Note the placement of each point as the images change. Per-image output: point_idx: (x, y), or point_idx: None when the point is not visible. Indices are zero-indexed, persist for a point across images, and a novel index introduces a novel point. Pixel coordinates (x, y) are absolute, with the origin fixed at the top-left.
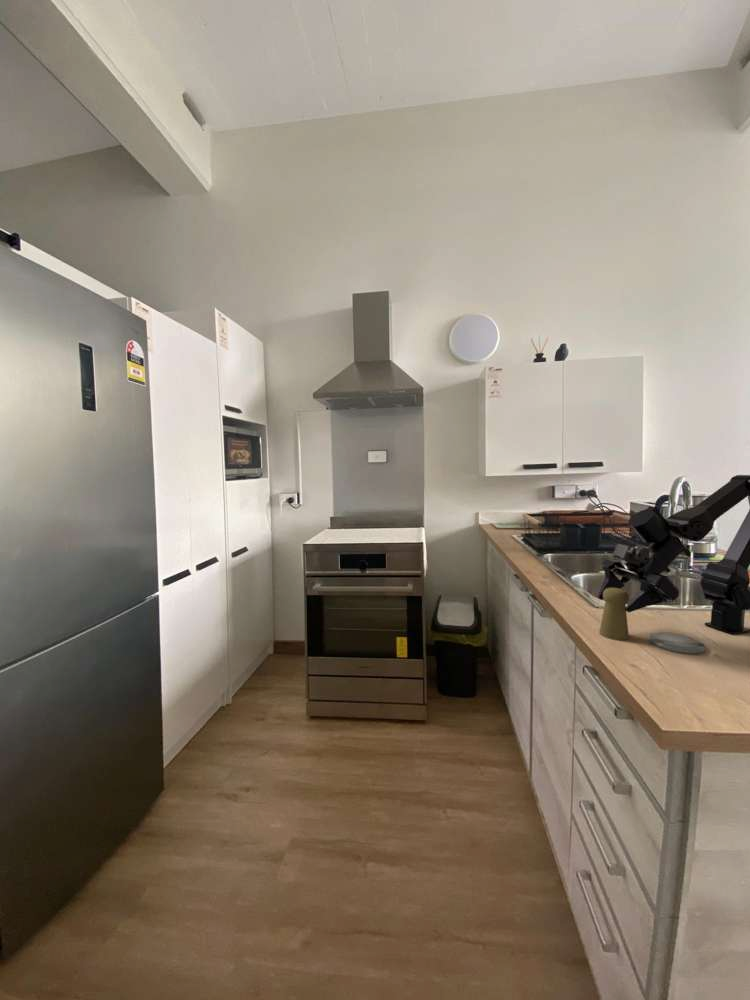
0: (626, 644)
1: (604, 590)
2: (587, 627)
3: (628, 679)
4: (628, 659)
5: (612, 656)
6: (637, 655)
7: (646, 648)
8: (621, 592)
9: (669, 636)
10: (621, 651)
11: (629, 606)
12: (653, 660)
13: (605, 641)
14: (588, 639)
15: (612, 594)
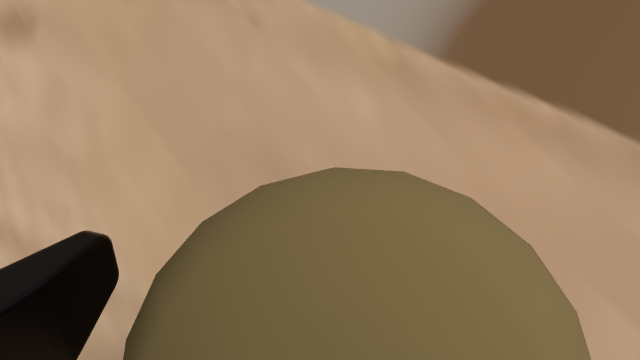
0: None
1: (514, 250)
2: (625, 268)
3: None
4: (73, 65)
5: (138, 8)
6: (84, 168)
7: (126, 335)
8: (140, 357)
9: None
10: (163, 122)
11: (30, 256)
12: (2, 197)
13: (324, 158)
14: (398, 67)
15: (252, 195)
